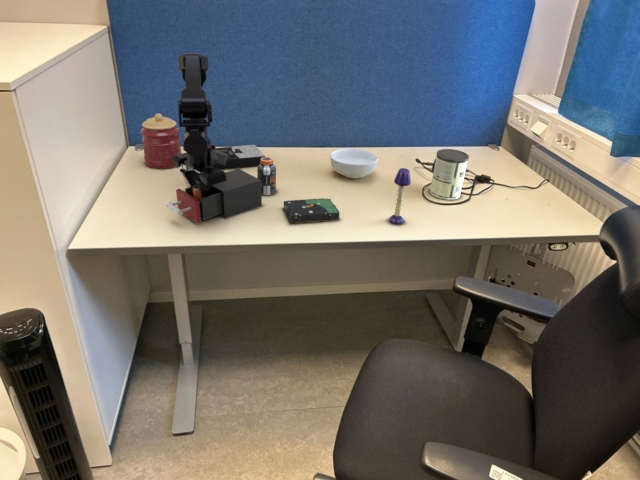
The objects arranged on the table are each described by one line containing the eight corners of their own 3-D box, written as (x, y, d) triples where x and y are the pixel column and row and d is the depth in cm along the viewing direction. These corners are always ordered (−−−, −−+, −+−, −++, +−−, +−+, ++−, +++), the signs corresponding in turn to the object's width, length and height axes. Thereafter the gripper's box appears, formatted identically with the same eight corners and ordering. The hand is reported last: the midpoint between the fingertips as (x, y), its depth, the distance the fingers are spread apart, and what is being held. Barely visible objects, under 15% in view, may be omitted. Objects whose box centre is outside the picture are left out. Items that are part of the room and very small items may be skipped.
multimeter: (206, 158, 175) (205, 145, 173) (255, 153, 182) (255, 141, 180) (213, 171, 165) (212, 157, 162) (266, 165, 172) (266, 152, 169)
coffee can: (433, 185, 165) (440, 146, 158) (462, 191, 162) (471, 152, 155) (426, 195, 157) (433, 155, 150) (456, 202, 154) (466, 162, 147)
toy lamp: (406, 225, 138) (415, 172, 130) (392, 226, 137) (400, 173, 129) (399, 217, 142) (407, 165, 134) (385, 218, 141) (393, 166, 133)
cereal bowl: (365, 164, 179) (367, 146, 175) (383, 181, 166) (386, 162, 162) (323, 167, 174) (324, 149, 170) (338, 185, 160) (340, 165, 157)
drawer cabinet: (224, 218, 135) (223, 191, 131) (203, 204, 142) (201, 178, 138) (261, 205, 144) (261, 180, 140) (239, 193, 151) (238, 168, 146)
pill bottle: (272, 196, 150) (273, 163, 144) (255, 194, 151) (254, 160, 145) (278, 189, 155) (278, 156, 149) (260, 186, 156) (260, 154, 150)
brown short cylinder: (204, 204, 132) (203, 190, 130) (190, 201, 133) (189, 187, 131) (211, 198, 135) (210, 184, 133) (198, 196, 136) (197, 182, 134)
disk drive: (290, 225, 134) (339, 220, 138) (290, 216, 133) (340, 211, 137) (282, 208, 143) (329, 204, 147) (283, 200, 142) (329, 196, 145)
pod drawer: (183, 228, 127) (180, 206, 124) (164, 214, 133) (161, 193, 130) (234, 211, 138) (233, 190, 134) (214, 199, 144) (213, 179, 140)
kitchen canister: (167, 153, 177) (161, 106, 168) (190, 162, 171) (186, 113, 162) (137, 162, 168) (130, 113, 159) (160, 172, 161) (154, 121, 152)
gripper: (242, 147, 125) (243, 200, 133) (203, 129, 136) (207, 179, 144) (206, 155, 118) (209, 211, 126) (168, 136, 129) (174, 188, 137)
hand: (201, 196), depth 133 cm, fingers closed on brown short cylinder, 4 cm apart
